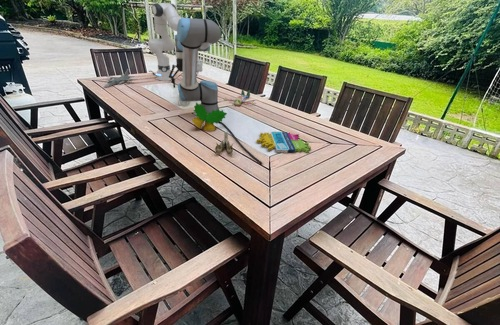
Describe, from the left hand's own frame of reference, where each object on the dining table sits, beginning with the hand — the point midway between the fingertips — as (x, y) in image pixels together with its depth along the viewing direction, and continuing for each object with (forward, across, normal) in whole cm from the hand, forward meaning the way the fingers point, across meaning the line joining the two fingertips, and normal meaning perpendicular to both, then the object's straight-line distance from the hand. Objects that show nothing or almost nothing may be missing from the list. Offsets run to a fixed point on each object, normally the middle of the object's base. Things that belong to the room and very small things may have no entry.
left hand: (191, 76), depth 241 cm
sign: (+8, -66, +116) cm, 134 cm away
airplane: (+13, +69, -9) cm, 71 cm away
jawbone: (+8, -33, +129) cm, 133 cm away
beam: (+11, 0, +24) cm, 27 cm away
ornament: (+9, -23, +98) cm, 101 cm away
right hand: (-2, 0, +48) cm, 48 cm away
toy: (+10, -46, +36) cm, 59 cm away
